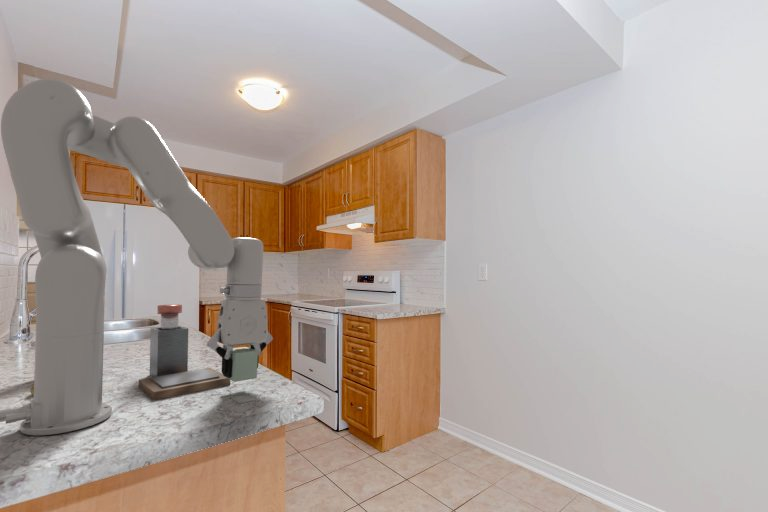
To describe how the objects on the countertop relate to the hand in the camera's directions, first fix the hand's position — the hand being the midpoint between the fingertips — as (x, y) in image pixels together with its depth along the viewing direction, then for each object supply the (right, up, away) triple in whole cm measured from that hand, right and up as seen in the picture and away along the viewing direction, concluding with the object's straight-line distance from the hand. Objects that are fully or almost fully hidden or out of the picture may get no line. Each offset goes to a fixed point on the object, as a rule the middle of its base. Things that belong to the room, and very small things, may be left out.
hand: (240, 373), depth 86 cm
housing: (0, -1, 0) cm, 1 cm away
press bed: (-15, -4, +5) cm, 16 cm away
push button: (-24, +4, +14) cm, 28 cm away
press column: (-24, -5, +14) cm, 28 cm away
